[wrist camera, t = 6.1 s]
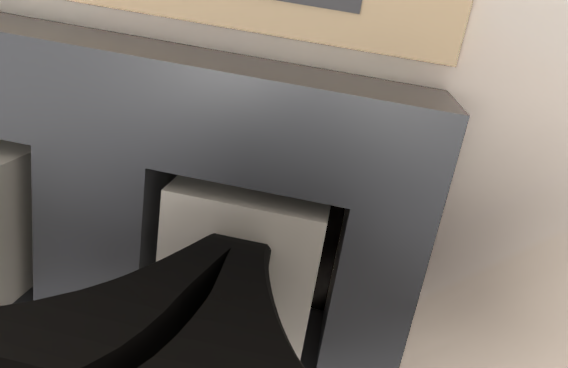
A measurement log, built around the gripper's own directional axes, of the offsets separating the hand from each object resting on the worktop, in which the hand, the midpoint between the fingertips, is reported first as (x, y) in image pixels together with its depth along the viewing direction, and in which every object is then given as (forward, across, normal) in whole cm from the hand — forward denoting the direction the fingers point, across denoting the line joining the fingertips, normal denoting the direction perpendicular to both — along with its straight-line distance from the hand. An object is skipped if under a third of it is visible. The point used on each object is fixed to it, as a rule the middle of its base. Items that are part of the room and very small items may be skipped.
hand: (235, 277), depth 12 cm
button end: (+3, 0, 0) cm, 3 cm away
